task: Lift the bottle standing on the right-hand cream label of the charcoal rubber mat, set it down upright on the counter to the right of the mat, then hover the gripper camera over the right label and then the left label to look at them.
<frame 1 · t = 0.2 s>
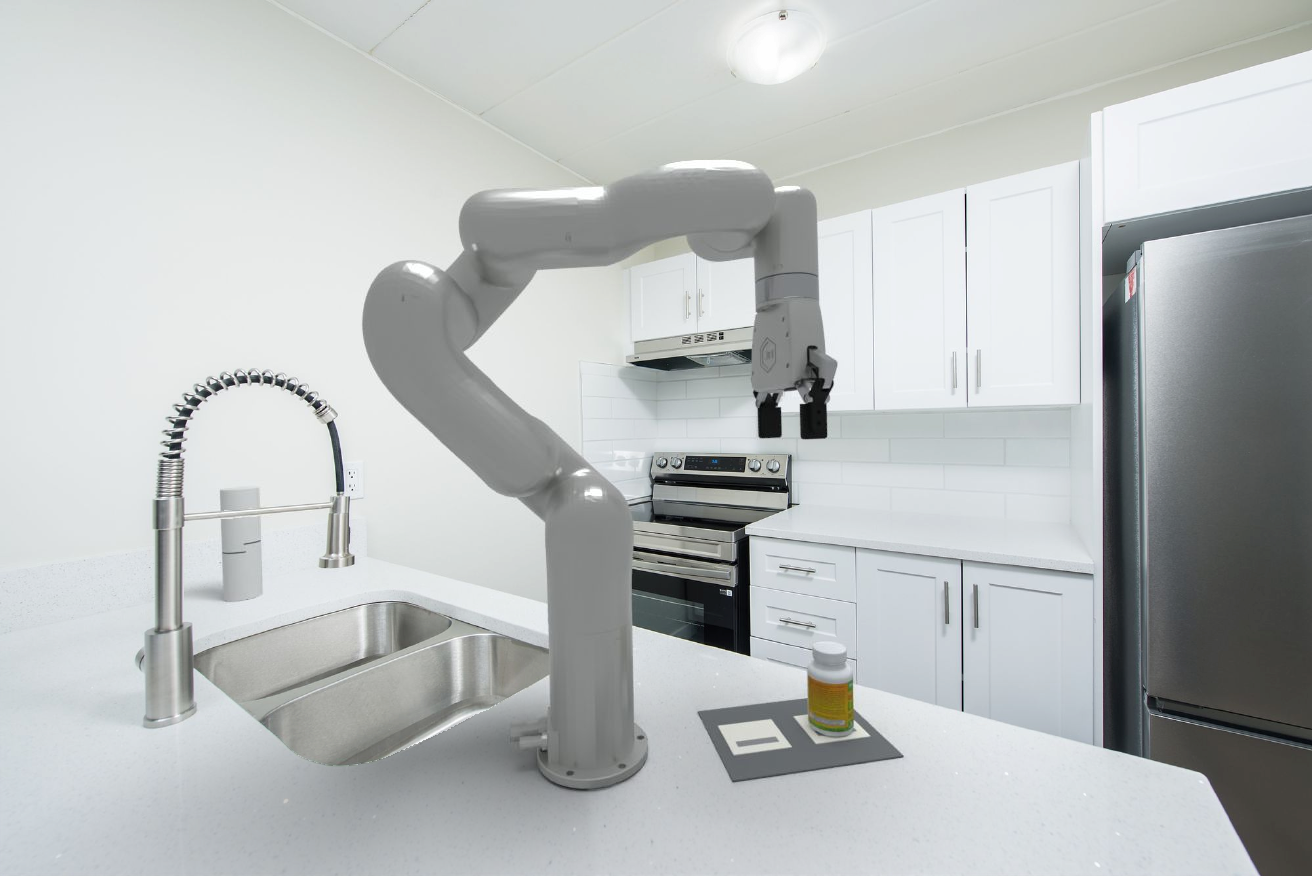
hand: (790, 438, 65), 36 cm above the worktop, tool pointing down, fingers open, 9 cm apart
supplement bottle: (830, 727, 65), resting on label mat
cylindrical container: (243, 597, 123), on the worktop
label mat: (792, 732, 65), on the worktop
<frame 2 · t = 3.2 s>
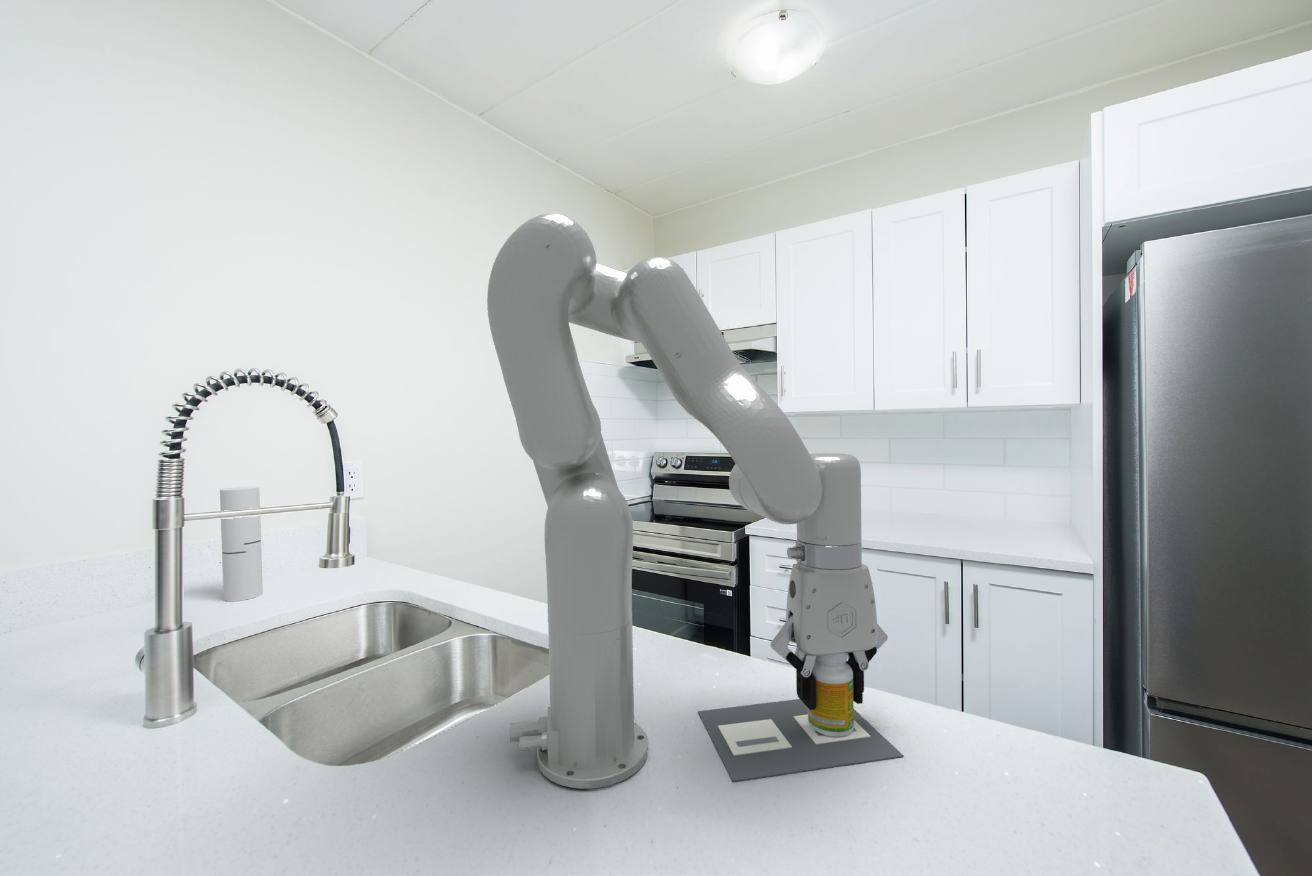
hand: (830, 699, 65), 3 cm above the worktop, tool pointing down, fingers closed on supplement bottle, 5 cm apart
supplement bottle: (830, 727, 65), resting on label mat, touching gripper
everything else where it was.
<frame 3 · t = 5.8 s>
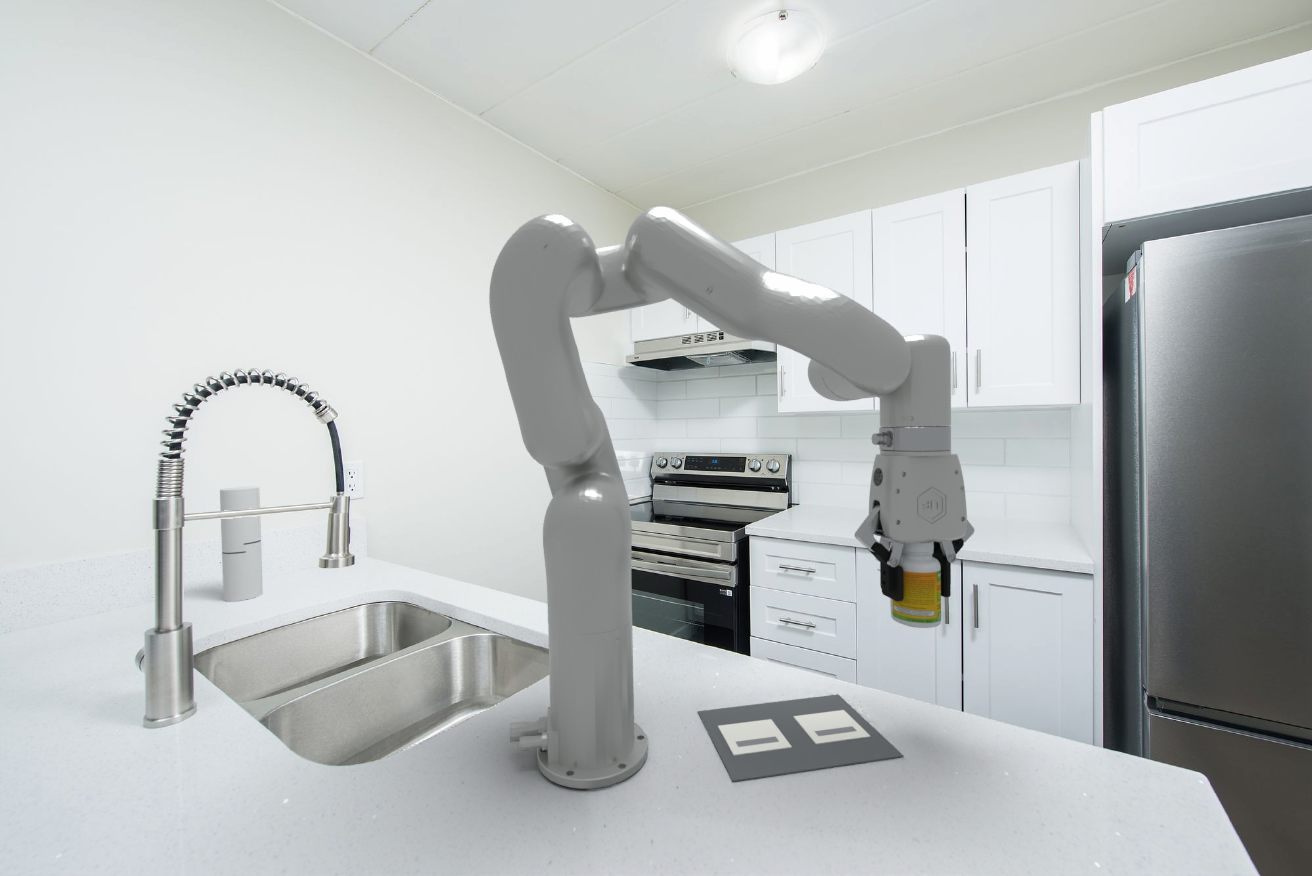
hand: (915, 594, 63), 17 cm above the worktop, tool pointing down, fingers closed on supplement bottle, 5 cm apart
supplement bottle: (915, 622, 63), point 14 cm above the worktop, touching gripper
everything else where it was.
when the fingers open (5 cm above the worktop, at t = 8.4 s): supplement bottle drops 2 cm, on the worktop.
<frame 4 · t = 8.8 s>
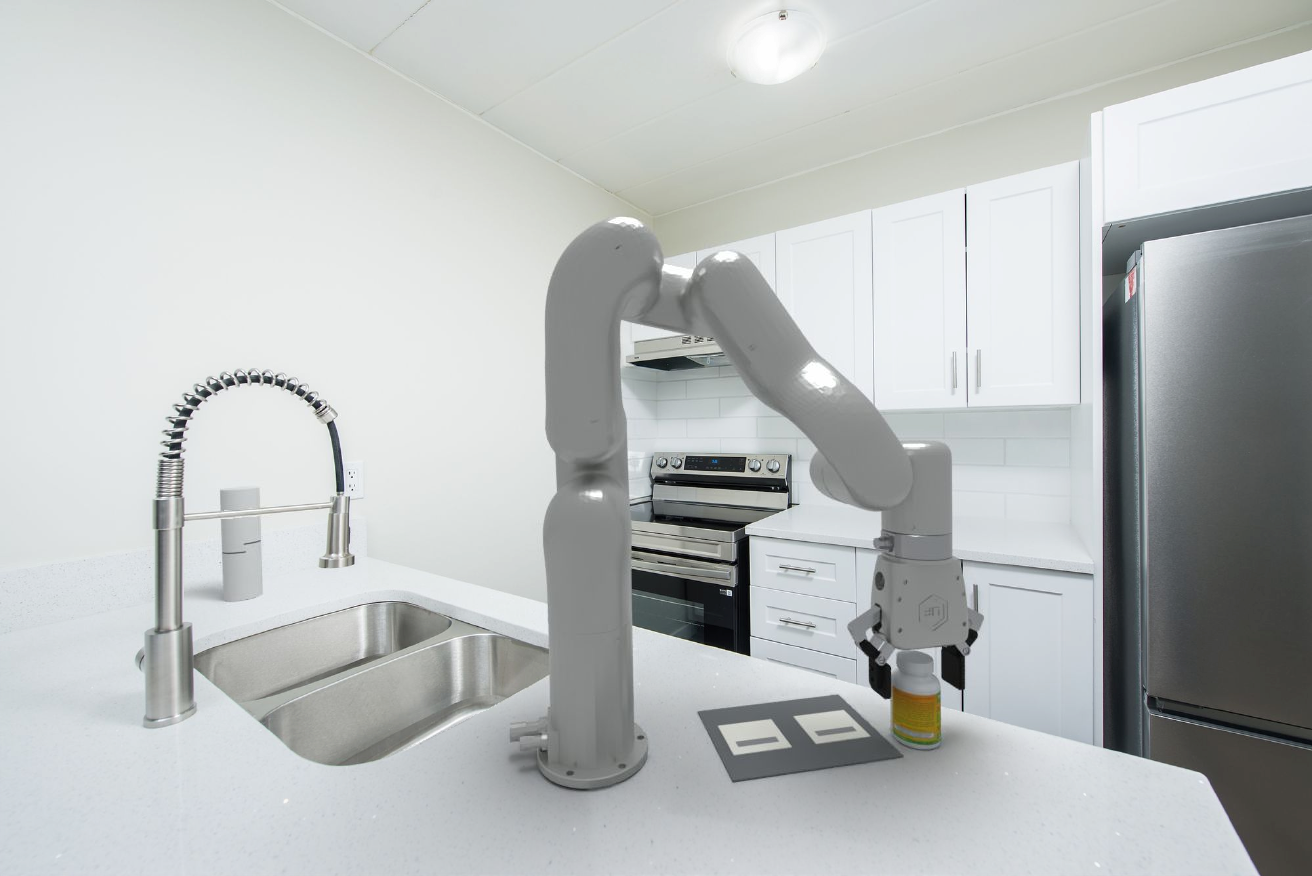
hand: (917, 689, 63), 6 cm above the worktop, tool pointing down, fingers open, 9 cm apart
supplement bottle: (915, 739, 63), on the worktop
everything else where it was.
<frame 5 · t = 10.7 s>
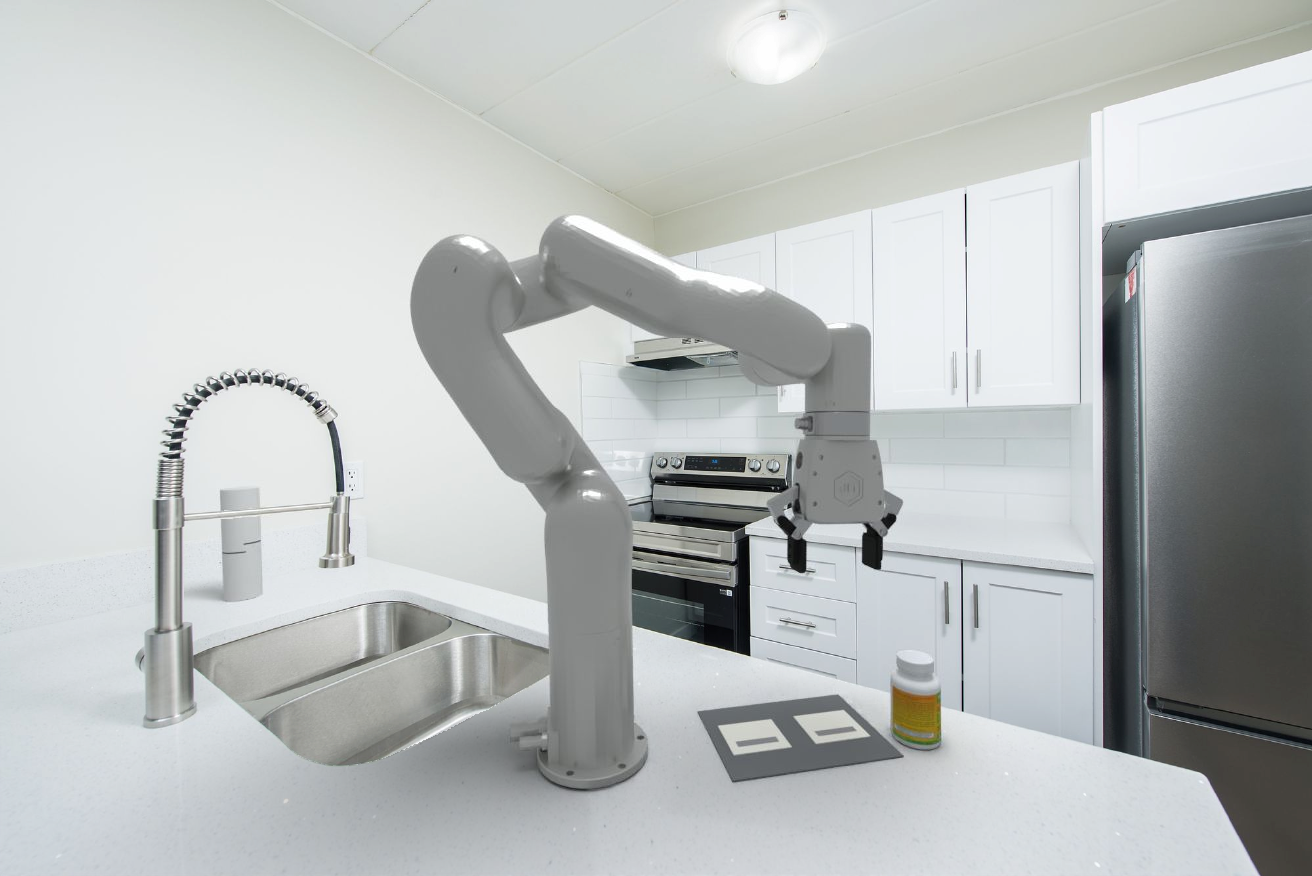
hand: (835, 568, 65), 20 cm above the worktop, tool pointing down, fingers open, 9 cm apart
nothing on the worktop moved.
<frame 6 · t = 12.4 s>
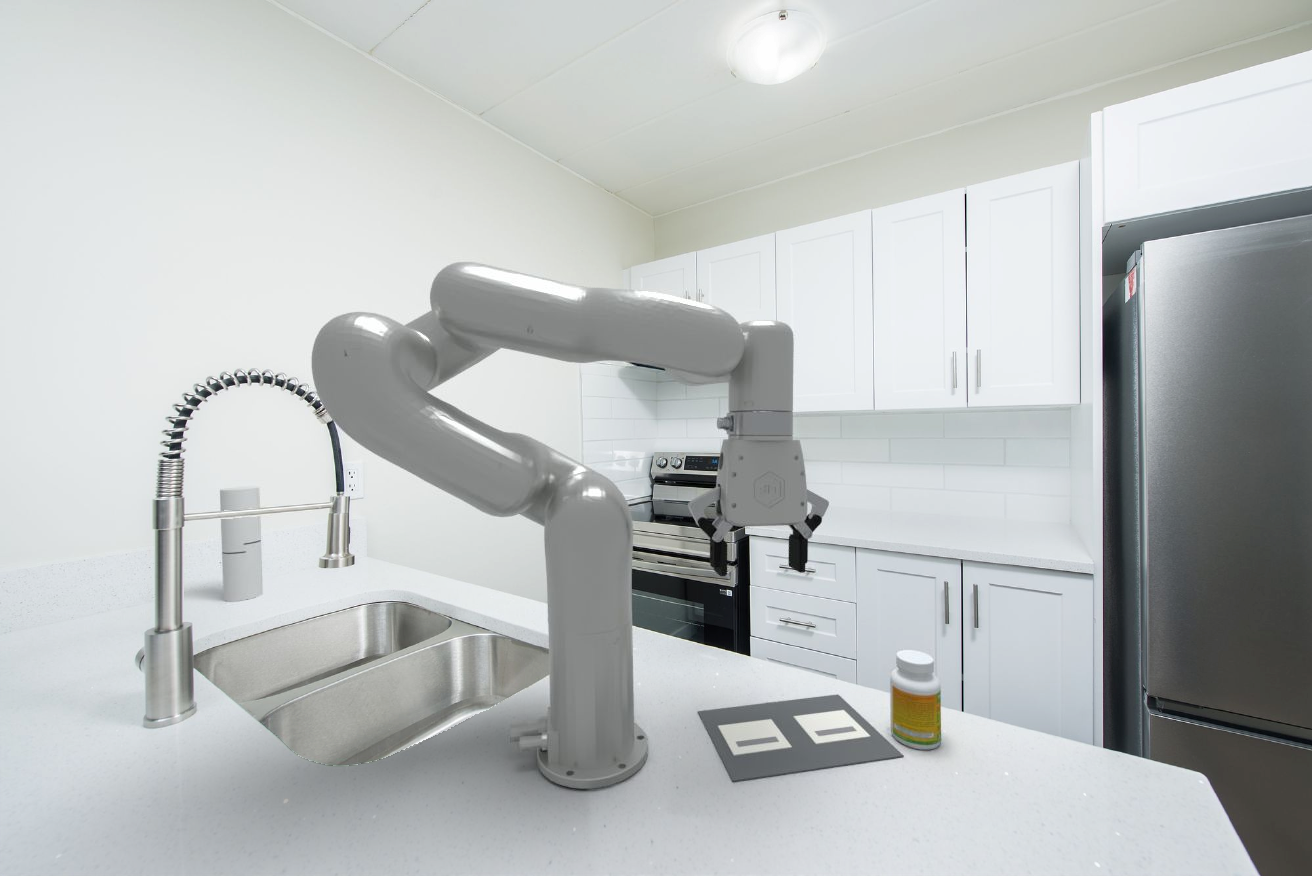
hand: (758, 571, 63), 20 cm above the worktop, tool pointing down, fingers open, 9 cm apart
nothing on the worktop moved.
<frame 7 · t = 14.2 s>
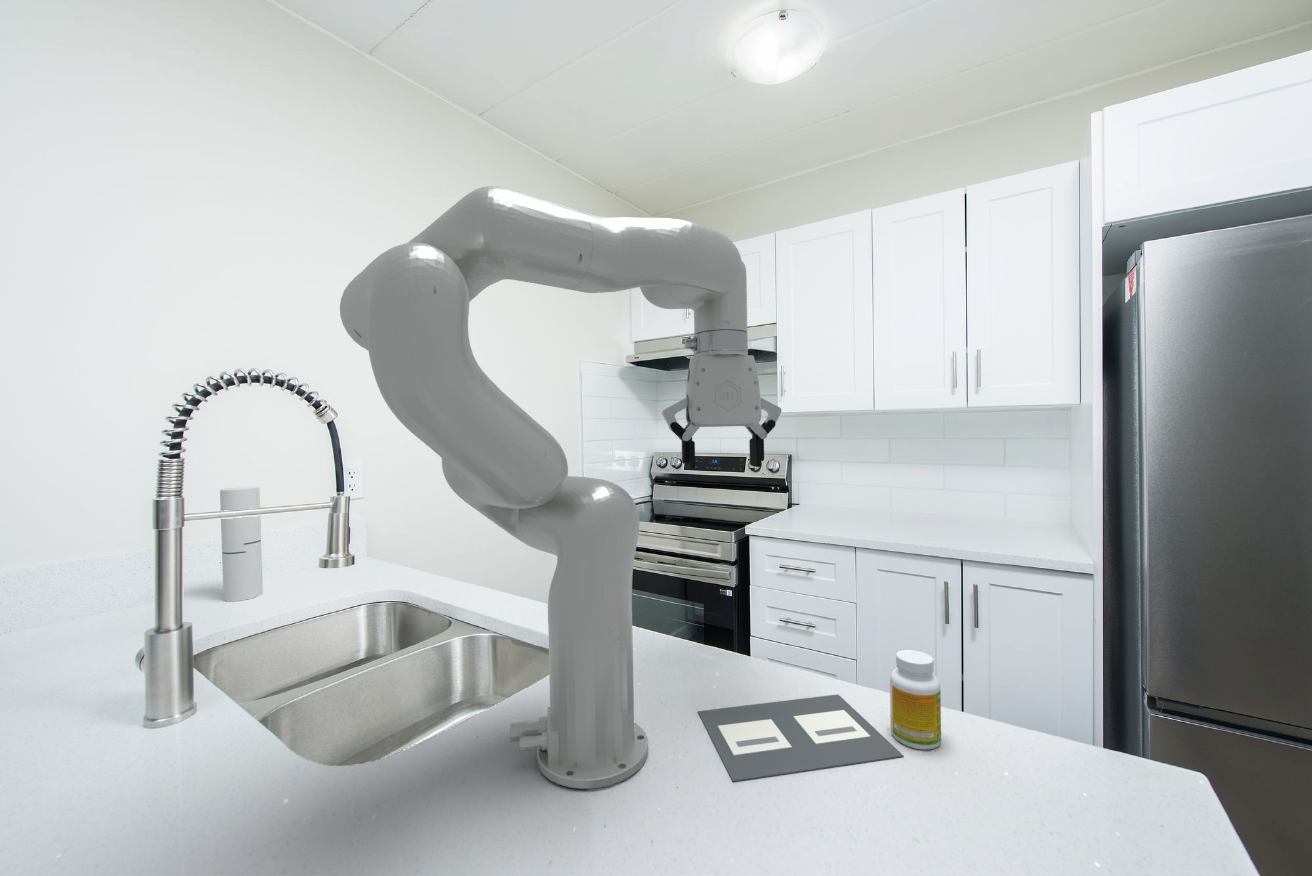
hand: (723, 467, 76), 31 cm above the worktop, tool pointing down, fingers open, 9 cm apart
nothing on the worktop moved.
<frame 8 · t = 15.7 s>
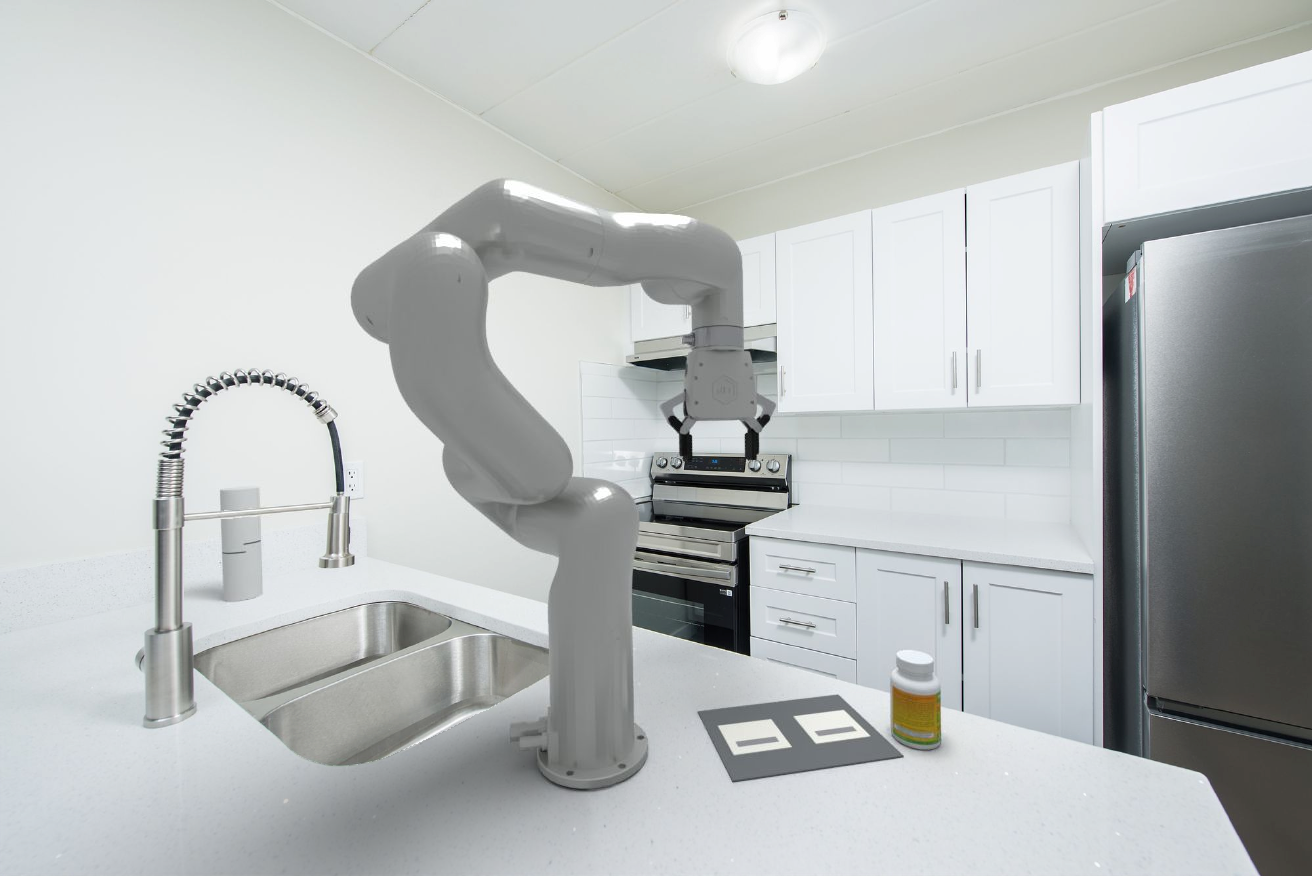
hand: (719, 460, 78), 32 cm above the worktop, tool pointing down, fingers open, 9 cm apart
nothing on the worktop moved.
at the end: supplement bottle inside the target area (0.3 cm from its centre), on the worktop; supplement bottle tilted 0°; the gripper is holding nothing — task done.
